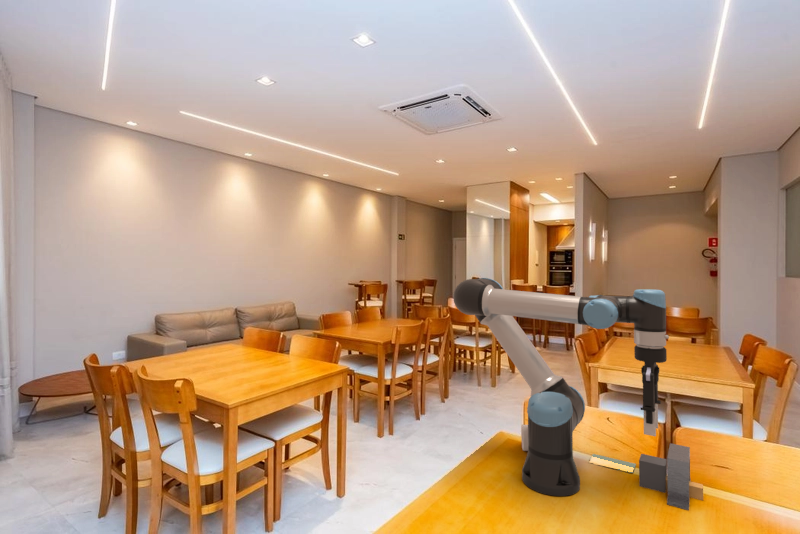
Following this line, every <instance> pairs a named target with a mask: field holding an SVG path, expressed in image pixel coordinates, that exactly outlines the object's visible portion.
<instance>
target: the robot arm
mask: <svg viewBox="0 0 800 534" xmlns="http://www.w3.org/2000/svg"><path fill="white" fill-rule="evenodd" d="M452 296H453V297H452V298H453V303H454V306H455V307H456V308H457V310H458V311H459V312H461V313H463V314H465V315H468V316H474V317H475V318H476V320H478V323H480V324H481V325H484V326H487V327H488V328H489V330H490V331H491V333H492V334H493V336H494V338H495V339H496V340H497V342H498V343H499V344H500V346H501V348H502V349H503V350H504V352H505V353H506V354H507V356H508V357H509V359H510V360H511V362H512V363H513V365H514V367H515V368H516V369H517V371H518V372H519V373H520V375H521V377H522V378H523V379H524V380H525V382H526V384H527V385H528V386H529V388H530V398H529V399H528V401H527V407H526V412H527V425H528V451H527V453H526V456H525V460H524V463H523V466H522V469H521V477H522V478H521V479H522V482H523V483H524V484H525V485H526V486H527V488H530V489H531V490H533V491H535V492H537V493H539V494H540V493H541V494H543V495H547V496H554V497H566V496H567V497H568V496H571V495H574V494H576V493H578V492H579V491H580V489H581V478H580V475H579V471H578V469H577V465H576V463H575V460H574V454H573V453H574V450H573V449H574V448H573V445H574V444H573V443H574V442H573V439H574V438H573V433H574V431H575V429H576V428H577V427H578V425H579V424H580V423H581V422H582V420H583V418H584V416H585V412H586V405H585V400H584V398H583V396H582V394H581V393H580V392H579V391H578V390H577V388H575V387H573V386H571V385H569V384H568V383H567V381H566V379H565V378H564V377H563V376H562V375H558V374H555V373H554V372H553V370H552V369H551V368H550V366H549V364H548V363H547V362H546V361H545V359H544V358H543V356H542V355H541V354H540V352H539V351H538V350H537V348H536V347H535V346H534V344H533V343H532V341H531V340H530V339H529V337H528V335H527V334H526V333H525V331H524V330H523V328H521V325H519V323H518V321H517V320H516V318H515V317H518V318H526V319H534V320H543V321H551V322H559V323H566V324H567V323H568V324H575V325H582V326H589V327H591V328H593V329H597V330H601V329H602V330H605V329H608V328H610V327H612V326H614V325H615V324H616V323H620V324H633V326H634V328H633V342H634V344H635V346H634V348H633V349H634V351H633V352H634V354H633V355H634V359H635V360H637V361H639V362H643V363H644V364H643V365H642V366H641V377H642V378H641V382H642V407H640V410H641V411H643V435H647V436H652V437H656V436H657V429H659V405H661V404H662V403H661V402H662V401H661V400H659V385H658V384H659V381H660V379H659V378H660V377H659V375H660V367H659V366H658V364H660V363H661V364H662V363H665V362H667V359H668V358H667V348H666V346H667V340H668V339H669V338H670V336H669V335H668V334H667V302H666V293H665V292H664V291H663V290H661V289H649V288H646V289H642V288H641V289H640V288H639V289H635V290H634V291H633V295H629V296H628V295H626V296H624V295H603V294H597V295H589V296H576V295H568V294H567V295H566V294H558V293H557V294H556V293H547V292H546V293H544V292H534V291H525V290H522V291H521V290H515V289H513V290H512V289H504V287H503V286H502V285H501V284H500V282H498V281H497V280H495V279H491V278H488V277H481V278H475V279H474V278H469V279H465V280H463V281H461V282H459V283H458V284H457V285H456V287H455V289H454V291H453V295H452Z"/></svg>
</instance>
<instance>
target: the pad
mask: <svg viewBox="0 0 800 534" xmlns="http://www.w3.org/2000/svg"><path fill="white" fill-rule="evenodd" d="M591 456H593V457H597V458H600V459H604V460H608V461H612V462H614V463H618V464H622V465H626V466H629V467H633V468H635V469H636V466H637V463H634V462H629V461H626V460H620V459H618V458H613V457H608V456H604V455H600V454H597V453H592V454H591ZM618 470H620V469H618ZM618 470H617V471H618ZM627 472H628V471H627ZM630 473H633V474H634V472H630ZM630 473H629V474H630Z"/></svg>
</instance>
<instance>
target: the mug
mask: <svg viewBox="0 0 800 534" xmlns="http://www.w3.org/2000/svg"><path fill="white" fill-rule="evenodd" d="M520 432H521V435H520V436H521V448H522V451H523V452H528V424H521V431H520Z"/></svg>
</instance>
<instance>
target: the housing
mask: <svg viewBox="0 0 800 534" xmlns="http://www.w3.org/2000/svg"><path fill="white" fill-rule="evenodd" d="M690 449H691V447H690V446H685V445H680V444H677V443H676V444H675V443H671V442H670V443H669V448H668V451H667V458H666V459H667V476H668V491H667V498H666V505H668V506H672V507H674V508H675V507H676V508H679V509H682V510H686V511H689V510H690V497H689V481H690V482H692V481H691V451H690Z"/></svg>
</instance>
